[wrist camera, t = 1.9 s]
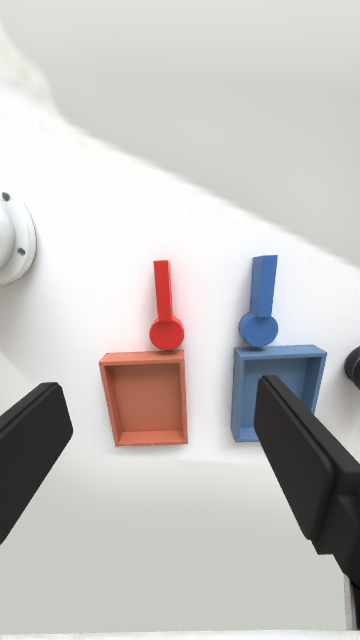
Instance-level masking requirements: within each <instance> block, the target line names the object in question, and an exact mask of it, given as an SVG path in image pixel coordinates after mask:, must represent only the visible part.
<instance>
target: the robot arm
mask: <svg viewBox="0 0 360 640" xmlns="http://www.w3.org/2000/svg"><path fill="white" fill-rule="evenodd" d="M35 251H36V235H35V229H34V225H33V222H32V219H31V216H30V214H29V212H28V210H27V208H26V206H25V204H24V203H23V202H22V200H21V199H20V197H19V196H18V195H17V193H16V192H15V191H14V190H13V189H12V188H11V187H10V186H9V185H8V184H7V183H6V182H4V181H3V180H2V179H0V284H5V283H10V282H12V281H15V280H17V279H19V278H20V277H21V276H22V275H24V274H25V273H26V271H27V270H28V269H29V268H30V266H31V264H32V261H33V259H34V255H35ZM254 430H255V433H256V435H257V437H258V439H259V441H260V444H261V446H262V448H263V450H264V452H265V454H266V456H267V458H268V461H269V463H270V465H271V467H272V469H273V471H274V473H275V476H276V477H277V480H278V482H279V484H280V486H281V488H282V490H283V493H284V495H285V497H286V499H287V501H288V503H289V505H290V507H291V509H292V512H293V514H294V516H295V518H296V520H297V522H298V525H299V527H300V529H301V531H302V533H303V534H304V536H305V537H306V538H307V539H308V540H311V541H312V544H313V546H314V548H315V550H316V552H317V554H318V555H320V554H321V555H324V554H333V555H334V557H335V559H336V561H337V563H338V565H339V567H340V568H341V570H342V572H343V573H344V592H345V615H346V631H343V630H342V631H341V630H220V631H154V632H153V631H152V632H105V633H61V634H59V633H58V634H13V635H0V640H360V464H359V463H358V462H357V461H356V460H355V458H354V457H353V456H352V455H351V454H350V453H349V452H348V451H347V450H346V449H345V448H344V447H343V446H342V445H341V443H340V442H339V441H338V440H337V439H336V438H335V437H334V436H333V435H332V434H331V433H330V432H329V431H328V430H327V428H326V427H325V426H324V425H323V424H322V423H321V422H320V421H319V420H318V419H317V418H316V417H315V416H314V415H313V413H312V412H311V411H310V410H309V409H308V408H307V407H306V406H305V405H304V404H303V403H302V402H301V401H300V400H299V398H298V397H297V396H296V395H295V394H294V393H293V392H292V391H291V390H290V389H289V388H288V387H287V386H286V385H285V383H284V382H283V381H282V380H281V379H280V378H279V377H278V376H277V375H263V376H262V377H261V378H259V379H258V384H257V394H256V404H255V413H254ZM72 434H73V427H72V423H71V420H70V416H69V412H68V409H67V405H66V401H65V398H64V394H63V390H62V387H61V386H60V385H59V384H58V383H56V382H47V383H41V384H39V385H38V386H37V387H36V388H34V389H33V390H32V391H31V392H30V393H28V394H27V395H26V396H25V397H23V398H22V399H21V400H20V401H18V402H17V403H16V404H15V405H13V406H12V407H11V408H10V409H9V410H7V411H6V412H5V413H4V414H2V415H1V416H0V545H1V543H3V541H4V540H5V539H6V537H7V536H8V534H9V533H10V531H11V529H12V528H13V526H14V525H15V523H16V522H17V520H18V519H19V517H20V516H21V514H22V512H23V511H24V510H25V508H26V506H27V505H28V503H29V502H30V500H31V499H32V497H33V496H34V494H35V493H36V491H37V490H38V488H39V486H40V485H41V483H42V482H43V480H44V479H45V477H46V476H47V474H48V473H49V471H50V470H51V468H52V466H53V465H54V463H55V462H56V460H57V459H58V457H59V456H60V454H61V453H62V451H63V449H64V448H65V447H66V445H67V443H68V442H69V440H70V439H71V437H72Z"/></svg>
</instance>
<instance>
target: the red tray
mask: <svg viewBox="0 0 360 640" xmlns="http://www.w3.org/2000/svg"><path fill="white" fill-rule="evenodd" d="M99 366H100V371H101V376H102V381H103V386H104V391H105V396H106V401H107V406H108V411H109V416H110V421H111V426H112V431H113V436H114V441H115V446H116V447H119V446H147V445H175V444H188V438H187V414H186V391H185V368H184V350H175V351H152V352H128V353H106V355H105V356H104V357H103V358H102V359H101V360H100V361H99Z"/></svg>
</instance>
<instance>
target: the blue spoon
mask: <svg viewBox="0 0 360 640" xmlns="http://www.w3.org/2000/svg"><path fill="white" fill-rule="evenodd" d="M277 256H278V255H268V256H259V257H254V258H253V271H252V285H251V300H250V312H249V313H247V314H246V315H244V316H243V317H242V319H241V320H240V322H239V327H238V328H239V333H240V335H241V336H242V337H243V338H244V339H245V341H246V342H247V343H249V344H250V345H252V346H255V347H262V346H266V345H268V344H269V343H271V342H272V341H273V340H274V339H275V337H276V335H277V333H278V324H277V322H276V320H275V319H274V318H273V317H271V313H272V303H273V294H274V284H275V275H276V266H277Z"/></svg>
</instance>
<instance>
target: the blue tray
mask: <svg viewBox="0 0 360 640" xmlns="http://www.w3.org/2000/svg"><path fill="white" fill-rule="evenodd" d="M326 356H327V352H325V351H323V350H321V349H320V348H318V347H316V346H314V345H295V346H271V347H247V348H235V350H234V371H233V392H232V413H231V430H232V433H233V436H234V440H235V442H259V439H258V437H257V435H256V433H255V430H254V413H255V404H256V394H257V384H258V379H259V378H261V377H262V376H263V375H277V376H278V377H279V378H280V379H281V380H282V381H283V382H284V383H285V385H286V386H287V387H288V388H289V389H290V390H291V391H292V392H293V393H294V394H295V395H296V396H297V397H298V398H299V400H300V401H301V402H302V403H303V404H304V405H305V406H306V407H307V408H308V409H309V410H310V411H311V412H312V413H313V415H314V412H315V408H316V403H317V398H318V394H319V389H320V384H321V380H322V375H323V370H324V366H325V361H326Z"/></svg>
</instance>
